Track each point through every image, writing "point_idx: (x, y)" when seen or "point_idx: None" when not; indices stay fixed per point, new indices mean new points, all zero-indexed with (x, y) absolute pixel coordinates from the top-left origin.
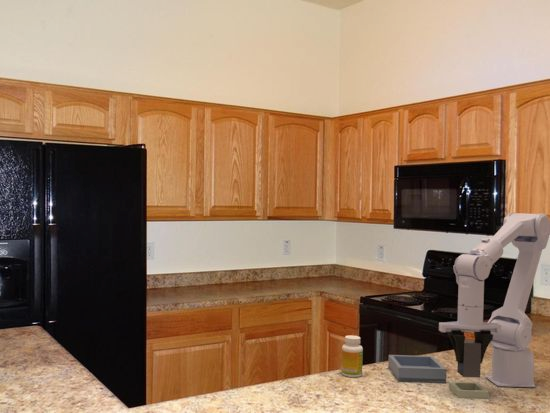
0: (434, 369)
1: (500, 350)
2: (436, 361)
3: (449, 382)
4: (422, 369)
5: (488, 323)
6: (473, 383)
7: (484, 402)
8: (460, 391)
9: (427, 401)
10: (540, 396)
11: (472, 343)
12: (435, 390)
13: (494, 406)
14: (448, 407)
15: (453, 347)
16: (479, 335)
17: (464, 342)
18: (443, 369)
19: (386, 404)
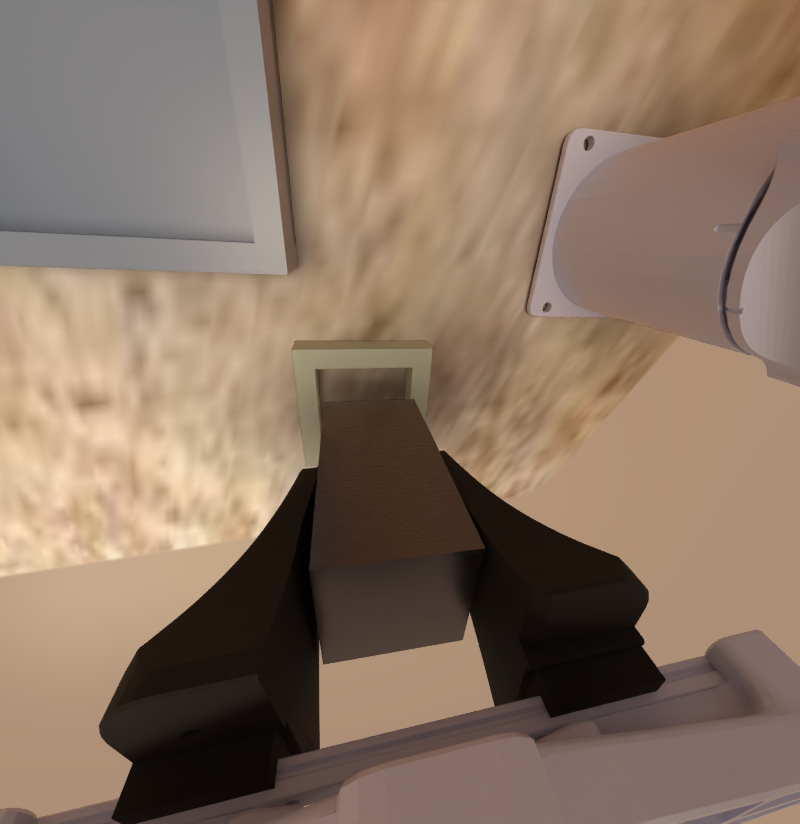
0: (201, 271)
1: (712, 317)
2: (236, 5)
3: (293, 358)
4: (108, 267)
5: (743, 813)
6: (406, 367)
7: None
8: (314, 464)
9: (180, 499)
10: (605, 403)
11: (392, 650)
12: (224, 383)
13: None
14: (252, 531)
15: (263, 535)
16: (506, 660)
17: (329, 656)
18: (266, 273)
19: (17, 546)
